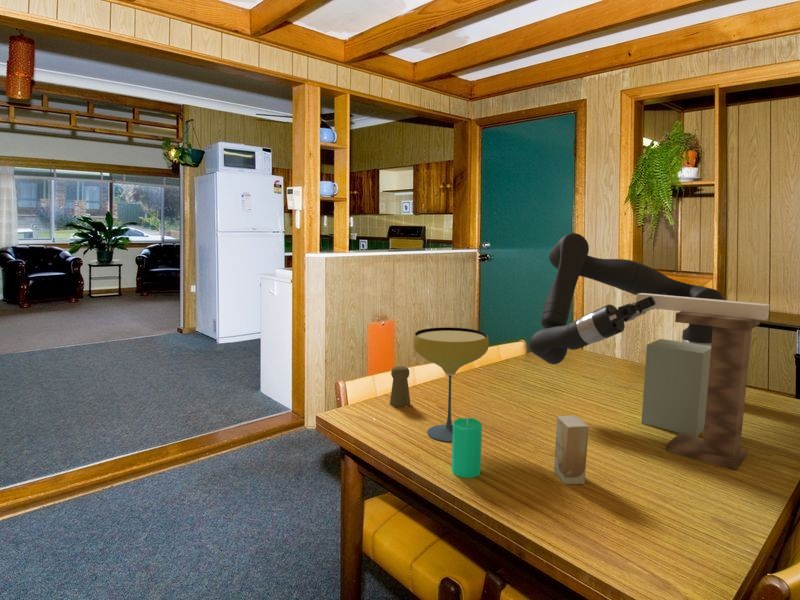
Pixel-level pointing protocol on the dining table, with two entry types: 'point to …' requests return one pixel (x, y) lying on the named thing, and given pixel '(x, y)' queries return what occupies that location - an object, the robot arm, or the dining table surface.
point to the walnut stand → (721, 392)
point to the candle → (466, 447)
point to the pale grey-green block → (676, 386)
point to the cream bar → (709, 306)
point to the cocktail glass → (449, 359)
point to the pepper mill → (400, 387)
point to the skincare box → (571, 449)
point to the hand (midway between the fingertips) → (660, 298)
